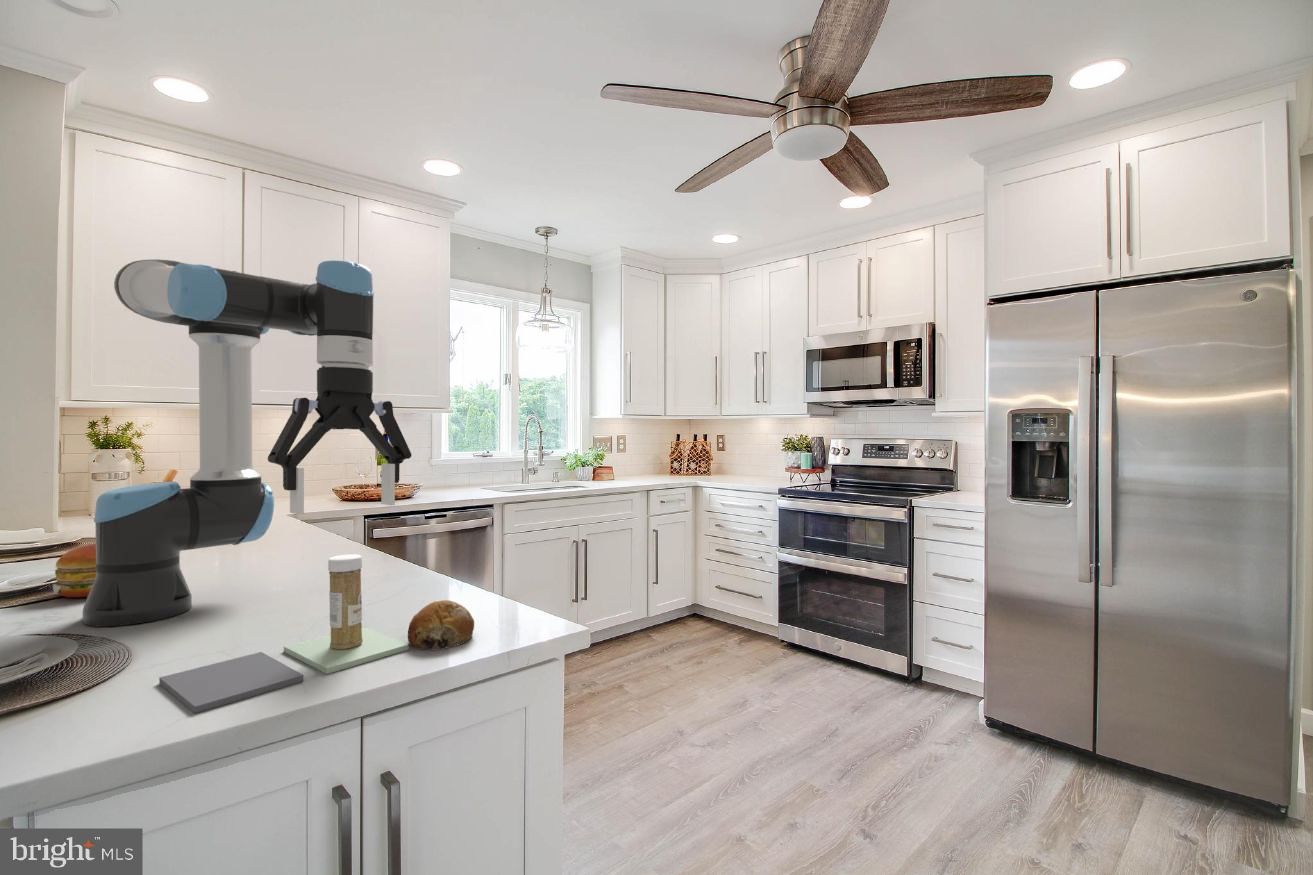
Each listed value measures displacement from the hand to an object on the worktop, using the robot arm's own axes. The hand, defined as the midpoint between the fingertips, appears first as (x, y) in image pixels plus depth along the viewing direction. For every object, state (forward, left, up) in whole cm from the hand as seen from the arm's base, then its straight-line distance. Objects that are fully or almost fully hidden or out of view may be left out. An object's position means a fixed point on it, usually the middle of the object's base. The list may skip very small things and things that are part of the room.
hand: (345, 508), depth 94 cm
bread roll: (+7, +12, -22) cm, 26 cm away
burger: (-74, -15, -22) cm, 78 cm away
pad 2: (0, 0, -21) cm, 21 cm away
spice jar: (0, 0, -21) cm, 21 cm away
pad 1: (0, -15, -21) cm, 26 cm away
